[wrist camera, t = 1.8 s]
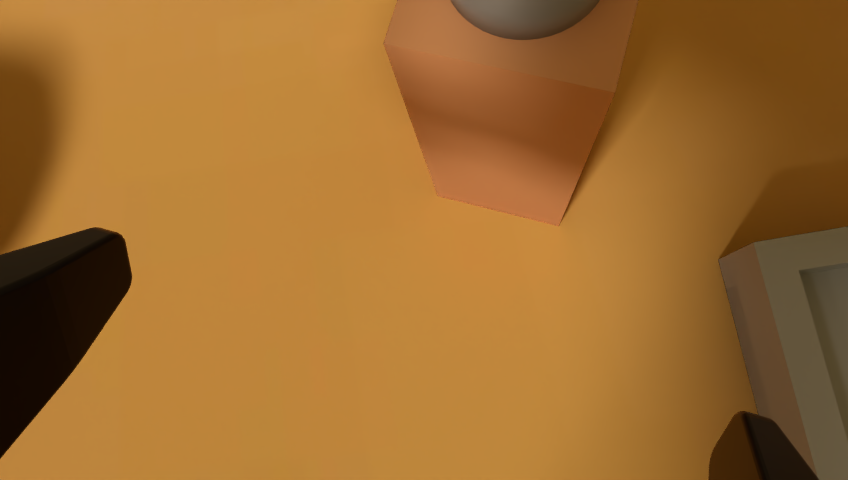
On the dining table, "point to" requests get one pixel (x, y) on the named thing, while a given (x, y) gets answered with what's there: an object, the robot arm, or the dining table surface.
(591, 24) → the block
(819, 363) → the tray
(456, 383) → the dining table surface
